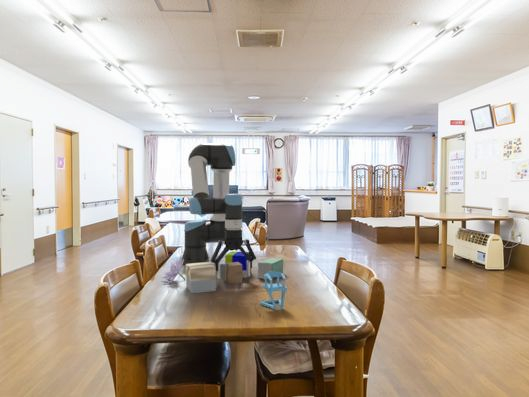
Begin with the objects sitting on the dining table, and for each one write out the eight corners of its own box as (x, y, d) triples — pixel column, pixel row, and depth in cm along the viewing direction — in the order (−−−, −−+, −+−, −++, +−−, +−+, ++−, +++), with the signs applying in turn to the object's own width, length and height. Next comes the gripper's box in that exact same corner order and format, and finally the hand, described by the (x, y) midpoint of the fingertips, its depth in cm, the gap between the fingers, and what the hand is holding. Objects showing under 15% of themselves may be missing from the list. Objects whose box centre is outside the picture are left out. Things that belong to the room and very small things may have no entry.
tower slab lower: (186, 287, 158) (186, 275, 158) (209, 285, 162) (209, 273, 161) (190, 294, 149) (190, 281, 148) (215, 291, 152) (215, 279, 152)
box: (283, 273, 182) (283, 258, 182) (272, 280, 170) (272, 263, 170) (269, 272, 185) (269, 256, 185) (257, 278, 173) (257, 262, 173)
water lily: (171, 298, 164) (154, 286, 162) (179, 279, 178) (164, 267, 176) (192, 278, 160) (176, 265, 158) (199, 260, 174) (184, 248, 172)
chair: (269, 311, 128) (269, 276, 127) (259, 304, 136) (260, 270, 135) (289, 308, 131) (290, 274, 130) (279, 301, 139) (279, 269, 138)
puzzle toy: (246, 277, 174) (246, 256, 173) (225, 276, 176) (225, 255, 175) (251, 272, 184) (251, 252, 183) (231, 271, 186) (231, 251, 185)
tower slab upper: (185, 275, 157) (185, 263, 157) (208, 273, 161) (208, 261, 161) (191, 281, 148) (190, 268, 148) (215, 278, 152) (215, 266, 152)
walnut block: (225, 280, 168) (225, 262, 168) (238, 279, 170) (238, 261, 170) (228, 284, 162) (228, 265, 162) (242, 282, 165) (242, 264, 164)
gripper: (207, 231, 157) (207, 281, 158) (263, 228, 166) (263, 276, 167) (203, 229, 164) (203, 277, 165) (257, 227, 173) (257, 272, 174)
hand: (233, 277), depth 166 cm, fingers open, 13 cm apart
